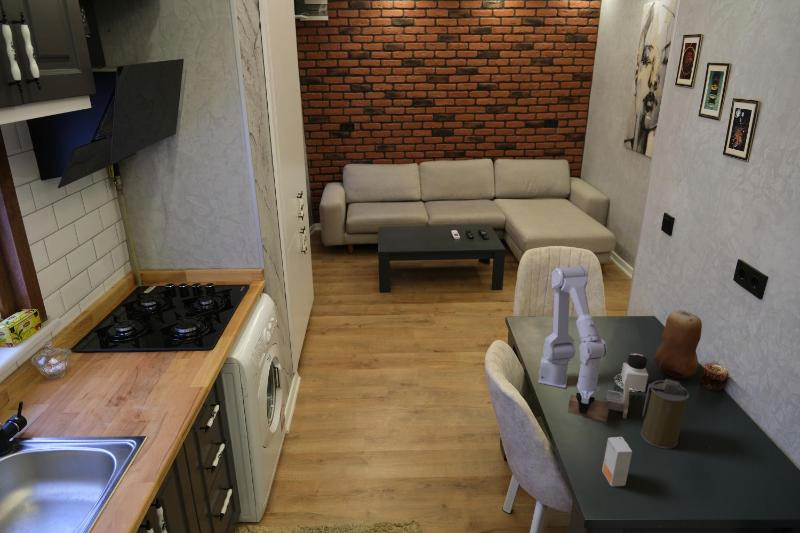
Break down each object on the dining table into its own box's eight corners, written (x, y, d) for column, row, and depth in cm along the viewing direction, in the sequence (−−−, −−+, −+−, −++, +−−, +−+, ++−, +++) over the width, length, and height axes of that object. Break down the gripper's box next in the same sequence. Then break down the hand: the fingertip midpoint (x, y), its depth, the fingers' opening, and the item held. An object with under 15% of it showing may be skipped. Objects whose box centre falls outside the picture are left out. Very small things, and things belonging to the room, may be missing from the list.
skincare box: (601, 471, 151) (607, 436, 147) (615, 470, 152) (622, 436, 147) (610, 487, 146) (617, 452, 141) (625, 486, 146) (633, 451, 142)
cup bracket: (605, 407, 179) (607, 400, 177) (606, 396, 184) (607, 389, 183) (622, 411, 177) (624, 404, 176) (622, 400, 182) (624, 392, 181)
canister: (675, 430, 168) (688, 376, 161) (679, 452, 159) (693, 395, 151) (637, 423, 171) (649, 369, 164) (640, 444, 162) (652, 388, 155)
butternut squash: (689, 368, 202) (704, 308, 192) (697, 388, 190) (713, 325, 180) (649, 362, 205) (662, 303, 196) (655, 381, 193) (668, 319, 184)
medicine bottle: (645, 392, 187) (651, 363, 182) (623, 390, 188) (629, 360, 184) (640, 381, 193) (646, 352, 189) (620, 379, 195) (625, 350, 190)
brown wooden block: (567, 412, 176) (569, 399, 174) (569, 406, 179) (570, 394, 177) (606, 422, 172) (608, 409, 170) (607, 415, 175) (609, 403, 173)
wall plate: (622, 418, 174) (625, 402, 171) (622, 394, 186) (625, 379, 183) (625, 418, 173) (629, 403, 171) (625, 395, 185) (628, 380, 183)
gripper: (601, 389, 163) (595, 425, 168) (602, 365, 175) (597, 399, 180) (577, 384, 165) (571, 420, 170) (580, 360, 178) (575, 395, 183)
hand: (583, 409), depth 175 cm, fingers closed on brown wooden block, 3 cm apart
